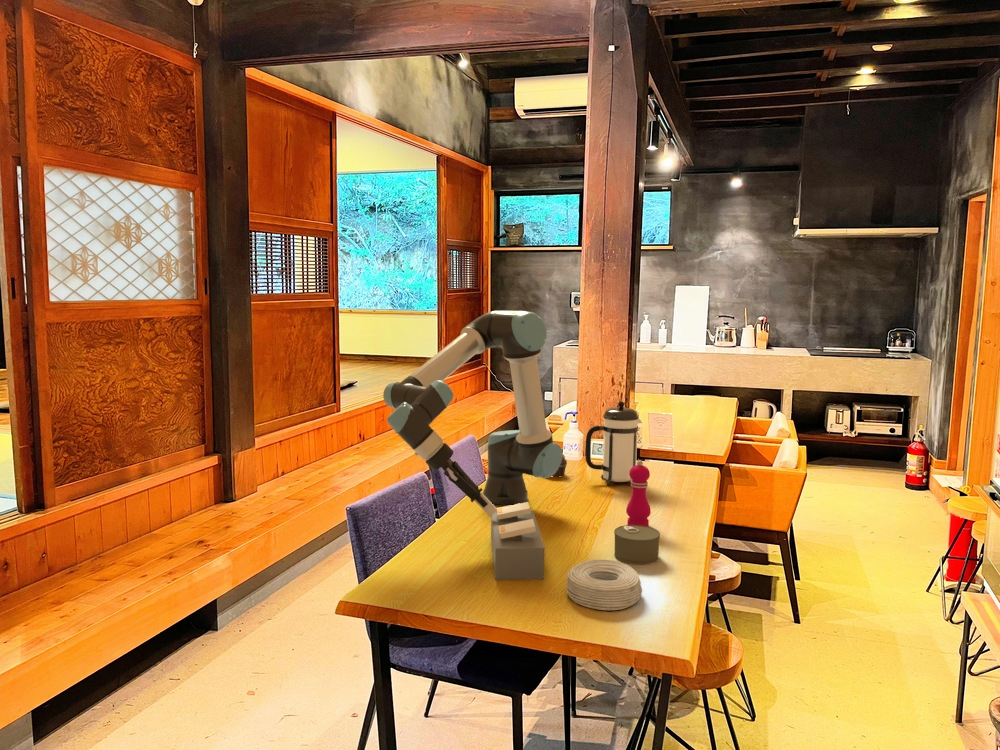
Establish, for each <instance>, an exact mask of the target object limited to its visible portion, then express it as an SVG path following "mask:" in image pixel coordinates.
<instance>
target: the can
mask: <svg viewBox="0 0 1000 750" xmlns="http://www.w3.org/2000/svg"><path fill="white" fill-rule="evenodd" d="M613 534H614V555H613V556H614V558H615V559H616V561H618V562H621V563H624V564H627V565H636V566H645V565H646V564H647V565H652V564H654V562H655V563H657V562H658V561H657V560H659V553H660V552H659V551H660V550H659V549H660V548H659V547H660V536H661V533H660V531H659V530H657V529H656V528H653V527H650V526H648V527H647V526H640V525H628V524H627V525H621V526H618V527H616V528H615V529H614V531H613ZM651 563H652V564H651ZM647 565H646V566H647Z"/></svg>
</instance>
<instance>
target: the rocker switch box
mask: <svg viewBox="0 0 1000 750" xmlns="http://www.w3.org/2000/svg"><path fill="white" fill-rule="evenodd" d="M530 511H531V513H530V514H525V515H520V516H515V517H510V518H504V519H499V520H498V516H497V512H495V513H494V514H493V515H492V516H491V517H490V540H491V551H492V559H493V560H492V561H493V562H492V563H493V569H494V571H493V572H494V579H495V580H496V581H503V580H505V581H506V580H507V581H513V580H545V551H546V550H545V548H546V547H545V544H544V542H543V539H542V534H541V531H540V528H539V525H538V522H537V518H536V516H535V512H534V510H530ZM529 519H533V521H534V524H535V528H536V532H532V533H527V534H522V535H518V536H513V537H508V538H504V539H501V537H500V531H499V526H501V525H506V524H510V523H515V522H520V521H524V520H529Z"/></svg>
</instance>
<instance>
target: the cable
mask: <svg viewBox="0 0 1000 750" xmlns="http://www.w3.org/2000/svg"><path fill="white" fill-rule="evenodd" d="M641 582H642V581H641V579H640V576H639V574H638V572H637V571H636V570H635V569H634V568H633V567H632V566H630V565H629V564H627V563H624V562H621V561H618V560H613V559H605V558H604V559H603V558H602V559H601V558H597V559H596V558H595V559H590V560H589V559H588V560H585V561H582V562H580V563H577V564H576V565H574V566H573V567H572V568H571V569H570V570H569V571H568V572H567V575H566V592H567V595H568V597H569V599H571V600H572V601H573V602H574V603H576V604H577V605H581V606H583V607H585V608H589V609H593V610H598V611H620V610H624V609H626V608H629V607H632V606H633V605H635V604H637V602H638V601H639V600H640V599H641V598H642V593H643V588H642V583H641Z"/></svg>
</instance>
